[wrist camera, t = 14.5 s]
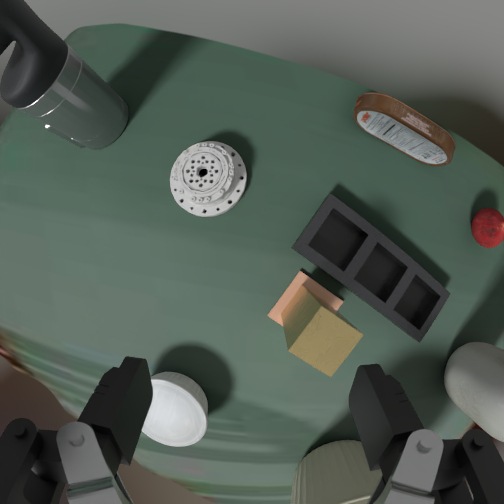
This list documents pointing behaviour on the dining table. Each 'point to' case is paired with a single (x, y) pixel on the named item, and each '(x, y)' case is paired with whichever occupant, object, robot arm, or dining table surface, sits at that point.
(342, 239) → the compartment tray
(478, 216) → the pomegranate
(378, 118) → the tin
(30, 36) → the robot arm
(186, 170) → the mechanical component
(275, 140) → the dining table surface
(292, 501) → the canister
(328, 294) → the tile
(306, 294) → the brass block
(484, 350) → the glass bottle
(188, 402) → the ramekin
